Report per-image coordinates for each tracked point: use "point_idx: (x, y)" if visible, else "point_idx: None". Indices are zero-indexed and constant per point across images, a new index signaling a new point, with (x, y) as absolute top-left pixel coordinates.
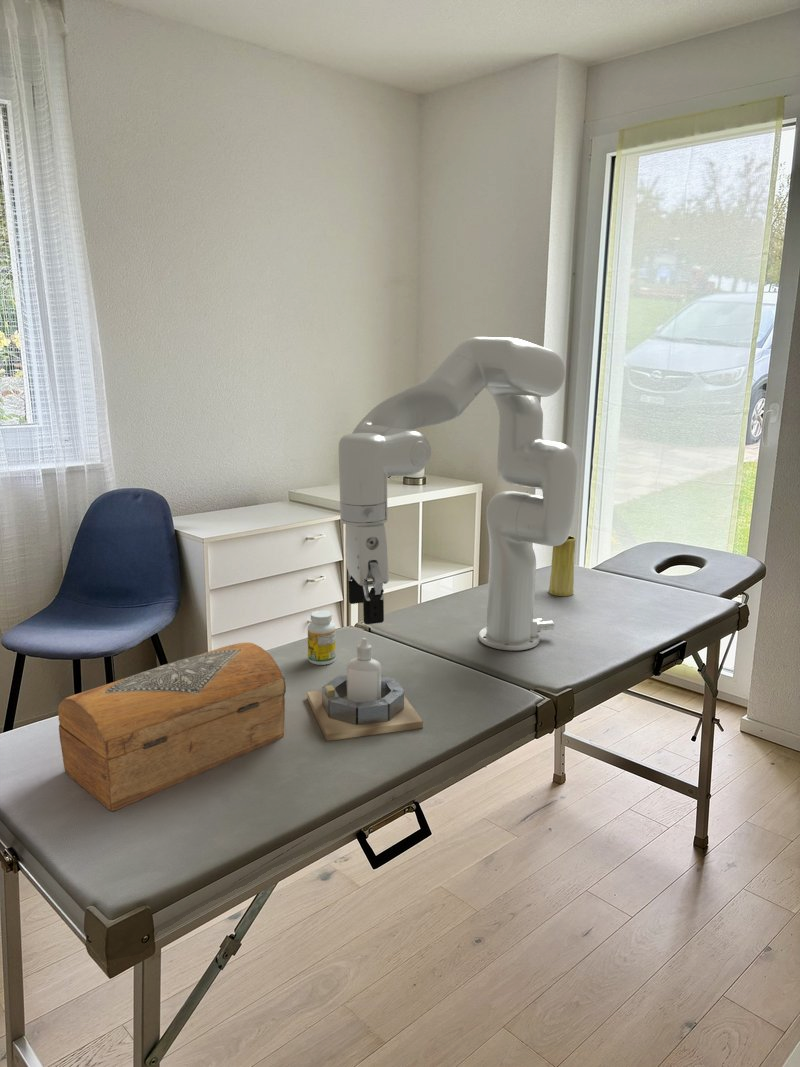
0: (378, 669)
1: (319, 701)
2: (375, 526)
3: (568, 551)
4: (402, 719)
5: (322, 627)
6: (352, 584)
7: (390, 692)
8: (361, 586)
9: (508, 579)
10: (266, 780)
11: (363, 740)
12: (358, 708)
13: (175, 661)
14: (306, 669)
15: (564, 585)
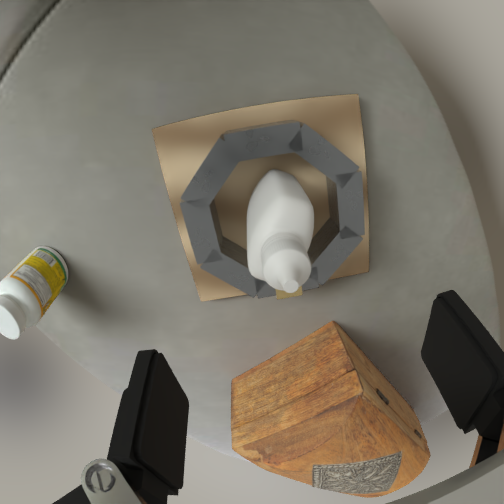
0: (311, 204)
1: None
2: None
3: None
4: (344, 132)
5: (28, 308)
6: (179, 478)
7: (301, 156)
8: (160, 444)
9: None
10: (426, 325)
11: (376, 208)
12: (364, 233)
13: (324, 487)
14: (87, 291)
15: None
